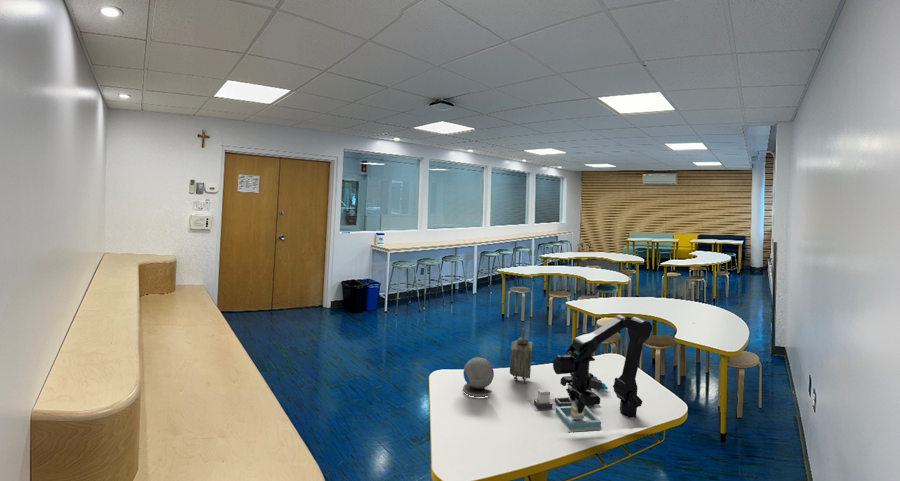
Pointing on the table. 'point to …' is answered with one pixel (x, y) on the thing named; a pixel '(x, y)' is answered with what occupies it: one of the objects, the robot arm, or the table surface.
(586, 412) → the tray
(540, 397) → the block
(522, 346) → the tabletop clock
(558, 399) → the fuse holder
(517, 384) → the table surface
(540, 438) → the table surface
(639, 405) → the robot arm
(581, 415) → the marked fuse
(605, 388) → the gear
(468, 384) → the webcam
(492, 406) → the table surface
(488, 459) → the table surface
